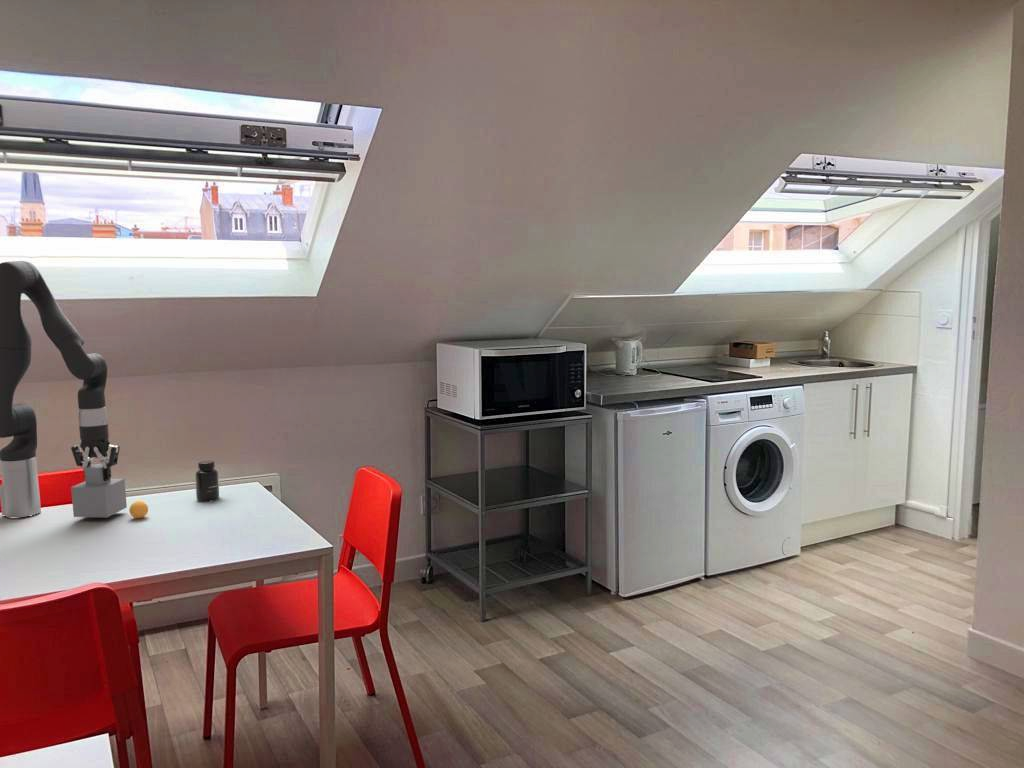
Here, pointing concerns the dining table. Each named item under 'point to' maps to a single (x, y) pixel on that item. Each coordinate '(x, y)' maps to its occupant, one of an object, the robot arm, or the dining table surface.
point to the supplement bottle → (207, 481)
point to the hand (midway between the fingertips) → (98, 480)
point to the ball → (138, 509)
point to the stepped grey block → (98, 494)
